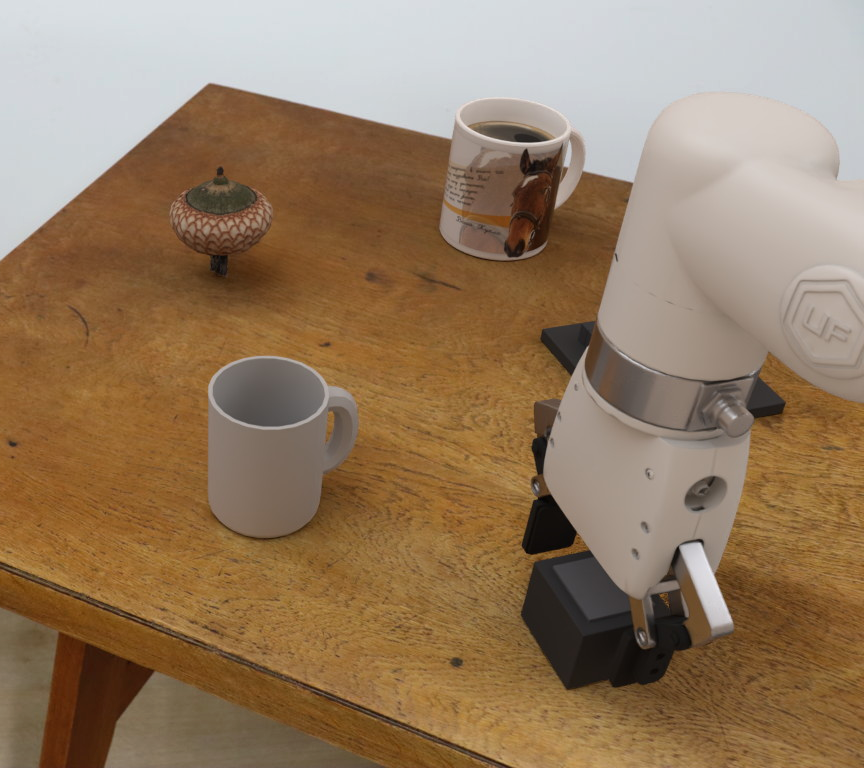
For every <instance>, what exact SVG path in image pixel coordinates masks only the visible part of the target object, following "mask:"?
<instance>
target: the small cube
mask: <svg viewBox="0 0 864 768" xmlns="http://www.w3.org/2000/svg"><path fill="white" fill-rule="evenodd" d="M651 599H652V606H653V612H654V618H659V617H663V616H667V615H671V614H670V607H669V605H667V603H666V602H665V601H664V600H663V599H662V597H661V596H660V594H658V595H653V596H651ZM520 617H521V619H522V621H523V622H524V623H525V625H526V626H527V628H528V630H529V631H530V633H531V635H532V636H533V639H534V640H535V641H536V643H537V644H538V646H539V648H540V649H541V651H542V652H543V654H544V655H545V657H546V659H547V661H548V662H549V663H550V665H551V667H552V668H553V670H554V672H555V673H556V675H557V677H558V678H559V680H560V681H561V683H562V684H563V686H564V688H565V689H566V690H572V689H576V688H579V687H584V686H587V685H592V684H595V683H601V682H603V681H609V680H608V672H609V669H610V667H611V664H612V661H613V658H614V656H615V653H616V650H617V648H618V645H619V642H620V640H621V637H622V634H623V633H624V631H626V630H628V629H631V628H633V622H632V615H631V609H630V603H629V596H628V594H626V593H625V592H624V591H622V590H621V589H620V588H619V587H618V586H617V585H616V584H615V583H614V582H613V580H612V579H611V578H610V577H609V575H608V574H607V573H606V571H605V570H604V569H603V567H602V566H601V565H600V563H599V562H598V560H597V559H596V558H595V556H594V555H593V554H592V552H591V551H590V549H587V550H583V551H578V552H574V553H569V554H565V555H559V556H555V557H551V558H546V559H542V560H536V561H534V562H533V566H532V569H531V573H530V576H529V581H528V584H527V588H526V593H525V596H524V601H523V605H522V608H521V611H520Z"/></svg>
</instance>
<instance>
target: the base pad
mask: <svg viewBox="0 0 864 768" xmlns="http://www.w3.org/2000/svg"><path fill="white" fill-rule="evenodd" d="M595 321H596V320H592V321H586V322H579V323H573V324H572V323H571V324H566V325H560V326H559V325H558V326H552V327H546V328H542V329H541V333H540V338H539V340H540V341H541V342H542V343H543V344H544V346H546V348H547V349H548V350H549V351H550V353H552V355H553V356H554V357H555V358H556V359H557V361H558V362H559V363H560V364H561V365H562V366H563V368H564V369H565V370H566V371H567V372H568V373H569V375H570V376H571V377H572V375H573V373H574V371H575V369H576V366H577V364H578V362H579V361H580V359H581V357H582V355H583V353H584V352H585V350H586V348H587V347H588V346H589V343H590V339H591V336H592V332H593V328H594V325H595ZM786 404H787V401H785V400H784V399H783V398H782V397H781V396H780V395H779V394H778V393H777V392H776V391H775V390H774V389H773V388H771V387H770V385H768V383H766V382H765V381H764V379H762V378H761V377H760V376H758V379H757V381H756V384H755V386H754V389H753V391H752V394H751V396H750V399H749V401H748V404H747V407H746V409H747V410H748V411H749V412H750V413H751V414H752V415H753V417H754V419H757V418H761V417H767V416H772V415H777V414H782V413H783V411H784V409H785V407H786Z"/></svg>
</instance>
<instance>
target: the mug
mask: <svg viewBox="0 0 864 768" xmlns="http://www.w3.org/2000/svg"><path fill="white" fill-rule="evenodd" d="M452 127H453V129H452V135H451V142H450V149H449V154H448V155H449V156H448V161H447V169H446V174H445V175H446V176H445V182H444V189H443V197H442V204H441V210H440V216H439V223H438V224H439V225H438V226H439V228H438V229H439V232H440V235H441V236H442V238H443V239H444V240H445V241H446V242H447V243H448V244H449V245H450V246H451V247H452V248H454V249H457V250H458V251H460V252H462V253H465V254H466V255H470V256H473V257H476V258H481V259H484V260H485V259H486V260H490V261H491V260H492V261H517V260H523V259H527V258H532V257H533V256H536V255H537V254H540V253H541V252H542V251H543V250H544V249H545V247H546V246H547V244H548V242H549V241H548V240H549V236H550V233H551V227H552V222H553V217H554V212H555V210H556V209H558V208H559V207H561V206H562V205H563V204H564V203H565V202H566V201H567V200H568V199H569V198H570V197H571V195H572V194H573V193H574V191H575V189H576V188H577V187H578V184H579V182H580V181H581V177H582V175H583V171H584V167H585V165H586V164H585V163H586V156H587V155H586V154H587V150H586V149H587V148H586V143H585V139H584V137H583V135H582V134H581V132H580V131H579V130H578V129H576V127H574V126H572V125H571V122H570V121H569V118H567V116H566V115H565V114H563V113H562V112H561V111H559V110H557V109H555V108H553V107H551V106H548V105H546V104H543V103H540V102H537V101H533V100H528V99H523V98H518V97H507V96H491V97H490V96H489V97H482V98H476V99H473V100H469V101H467V102H465V103H463V104H462V105H460V106H459V107H458V108H457V110H456V112H455V115H454V121H453V126H452ZM569 143H570V147H571V148H570V149H571V153H570V161H569V165H568V167H567V170H566V172H565V175H564V176H563V178H562V175H563V171H564V166H565V162H566V156H567V152H568V147H569Z"/></svg>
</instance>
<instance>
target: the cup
mask: <svg viewBox="0 0 864 768" xmlns="http://www.w3.org/2000/svg"><path fill="white" fill-rule="evenodd" d="M330 412H332V413H333V416H334V417H333V427H332V431H331V434H330V436H329V438H328V440H327V429H328V418H329V413H330ZM359 425H360V420H359V411H358V404H357V402H356V400H355V398H354V396H353V394H352V393H351V392H349V391H347V390H346V389H344V388H342V387H340V386H337V385H336V386H335V385H328V384H327V382H326V380H325V379H324V377H323V375H321V374H320V373H319V372H318V371H317V370H316V369H314V368H313V367H311V366H309V365H307V364H305V363H304V362H302V361H299V360H295V359H293V358H289V357H283V356H277V355H254V356H249V357H248V356H247V357H243V358H240V359H237V360H234V361H231V362H229V363H228V364H226V365H225V366H223V367H221V368H219V369H218V371H216V372H215V374H214V375H213V376H211V379H210V381H209V384H208V386H207V499H208V501H207V502H208V504H209V507H210V510H211V512H212V513H213V515H214V516H215V517H216V518H217V519H218V521H219V522H220V523H222V524H223V525H224V526H225V527H227V528H228V529H230V530H231V531H233V532H235V533H238V534H240V535H242V536H245V537H249V538H250V537H251V538H256V539H274V538H280V537H284V536H288V535H291V534H293V533H295V532H297V531H299V530H300V529H301V528H303V527H304V526H306V525H307V524H308V523H309V522H311V520H312V519H313V517H314V516H315V515H316V514H317V512H318V508H319V505H320V501H321V496H322V488H323V487H322V485H323V476H324V475H326V474H329V473H332V472H333V471H335V470H336V469H338V468H339V467H340V466H341V465H342V464H343V463H344V462H345V461H346V460H347V459H348V458H349V456H350V454H351V452H352V450H353V449H354V447H355V445H356V441H357V438H358V434H359ZM326 440H327V442H326Z"/></svg>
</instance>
